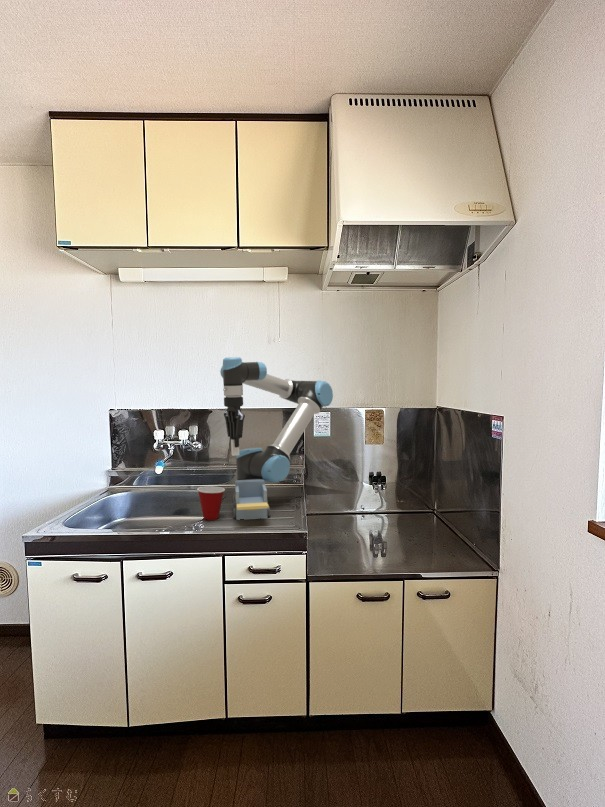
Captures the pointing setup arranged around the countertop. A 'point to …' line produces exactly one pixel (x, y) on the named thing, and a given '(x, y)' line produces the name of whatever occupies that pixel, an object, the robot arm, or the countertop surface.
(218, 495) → the plastic cup
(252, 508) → the panel
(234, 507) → the box
